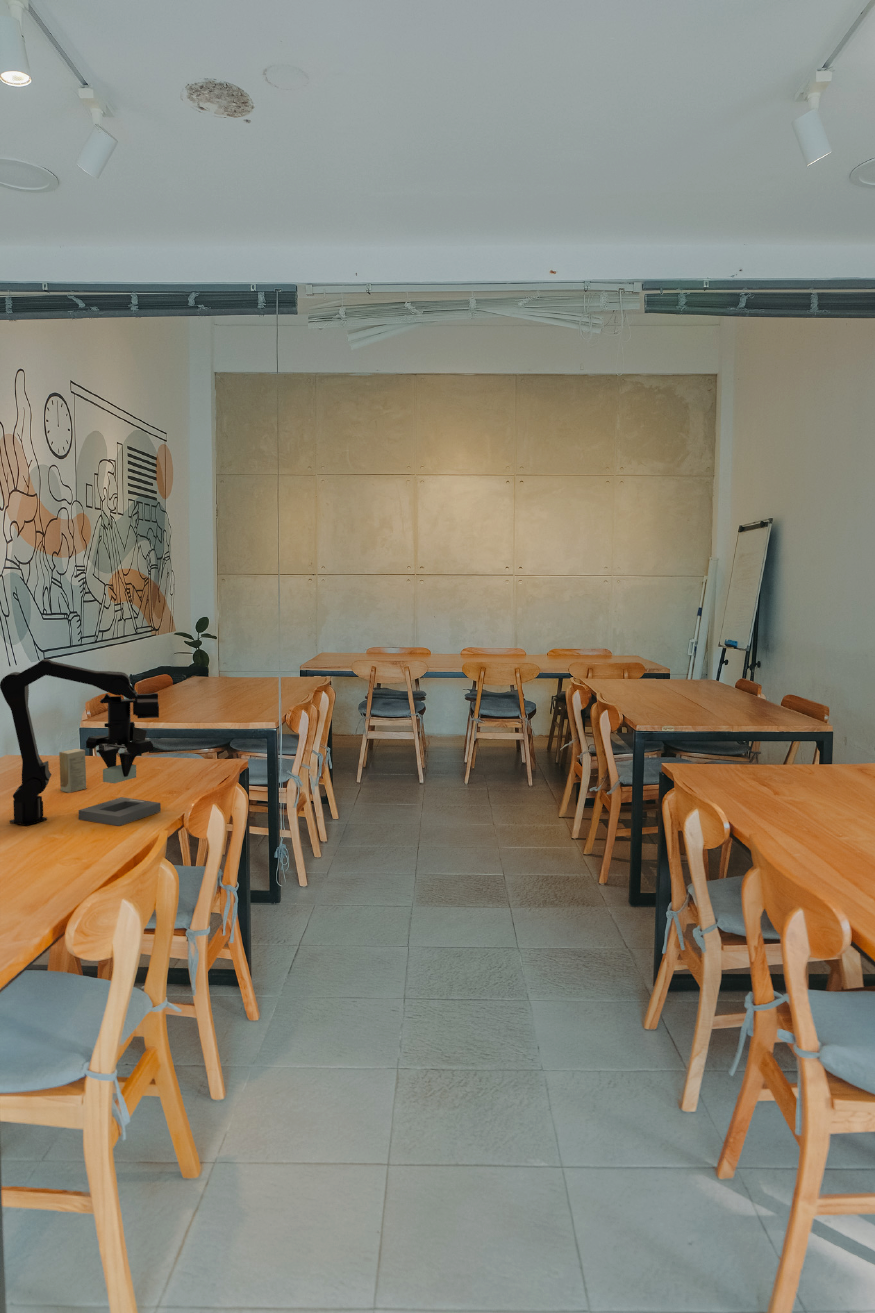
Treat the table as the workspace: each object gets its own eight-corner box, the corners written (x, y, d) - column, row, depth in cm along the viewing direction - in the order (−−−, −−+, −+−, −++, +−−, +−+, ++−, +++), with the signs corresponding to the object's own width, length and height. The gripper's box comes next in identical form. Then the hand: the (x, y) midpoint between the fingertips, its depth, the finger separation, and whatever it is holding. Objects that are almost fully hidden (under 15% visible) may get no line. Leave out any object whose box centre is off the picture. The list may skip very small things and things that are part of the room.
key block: (136, 777, 223) (136, 764, 223) (114, 783, 216) (114, 770, 215) (125, 775, 224) (124, 763, 224) (103, 781, 217) (102, 769, 217)
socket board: (119, 826, 211) (119, 816, 211) (78, 819, 216) (78, 809, 216) (160, 811, 225) (160, 802, 225) (121, 805, 231) (121, 796, 230)
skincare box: (78, 787, 251) (77, 748, 250) (87, 789, 249) (86, 749, 248) (59, 791, 246) (58, 751, 245) (68, 793, 243) (67, 753, 242)
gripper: (167, 717, 223) (167, 773, 224) (114, 712, 230) (115, 766, 231) (138, 723, 212) (138, 781, 214) (84, 717, 219) (84, 774, 221)
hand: (119, 775), depth 220 cm, fingers closed on key block, 4 cm apart
